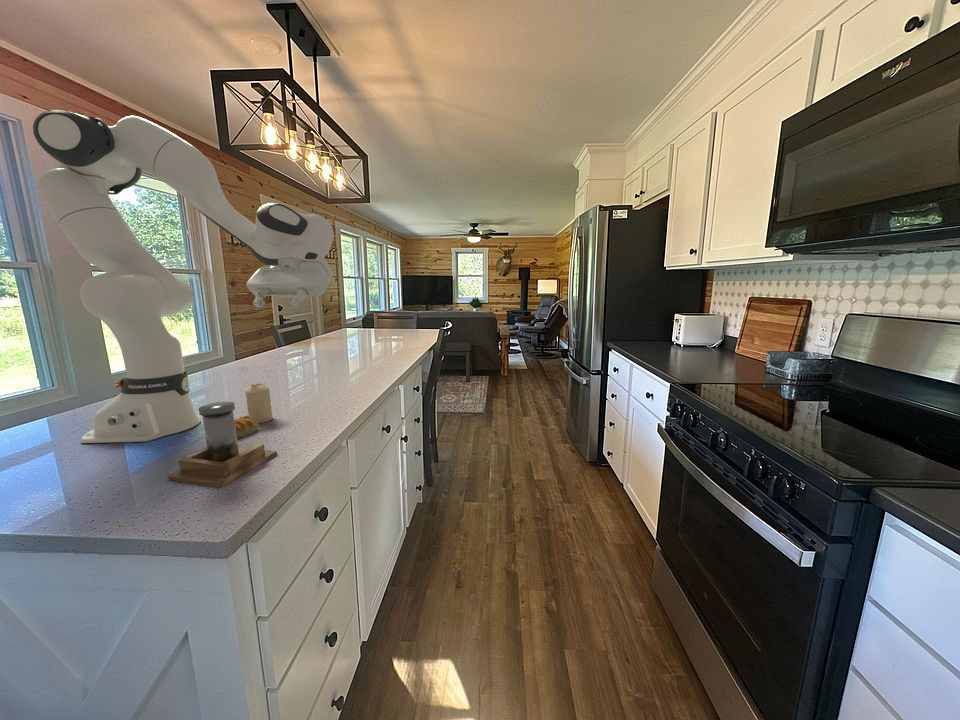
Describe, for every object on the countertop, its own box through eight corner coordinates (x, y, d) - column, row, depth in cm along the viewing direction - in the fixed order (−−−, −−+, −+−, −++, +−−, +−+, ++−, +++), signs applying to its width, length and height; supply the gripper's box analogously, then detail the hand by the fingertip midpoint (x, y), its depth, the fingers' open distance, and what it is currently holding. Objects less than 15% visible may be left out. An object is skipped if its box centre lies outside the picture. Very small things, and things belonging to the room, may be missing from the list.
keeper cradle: (220, 487, 69) (218, 470, 68) (168, 480, 72) (165, 463, 71) (277, 454, 82) (275, 440, 82) (231, 449, 85) (229, 435, 84)
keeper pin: (202, 471, 73) (192, 412, 71) (215, 458, 79) (206, 402, 76) (236, 467, 75) (227, 409, 72) (246, 454, 80) (238, 400, 78)
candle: (262, 424, 100) (257, 387, 98) (244, 422, 101) (239, 386, 99) (277, 417, 105) (273, 382, 103) (260, 415, 106) (255, 381, 104)
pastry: (230, 444, 88) (228, 428, 87) (206, 441, 90) (204, 426, 89) (261, 429, 97) (260, 415, 96) (239, 427, 98) (238, 413, 98)
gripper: (256, 256, 96) (228, 296, 89) (327, 254, 92) (304, 296, 84) (271, 274, 101) (246, 313, 94) (339, 274, 97) (318, 315, 89)
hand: (274, 305), depth 89 cm, fingers open, 8 cm apart
